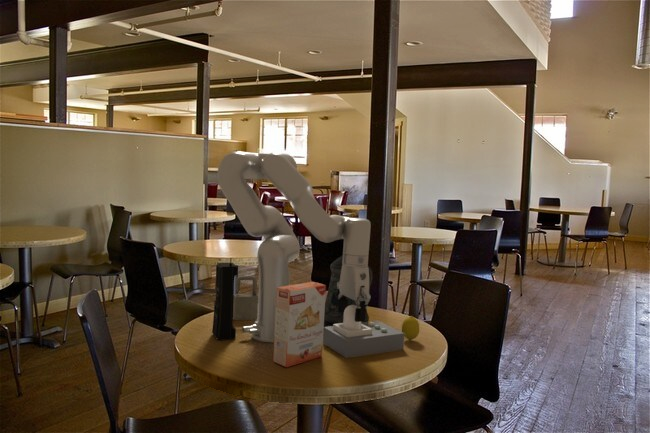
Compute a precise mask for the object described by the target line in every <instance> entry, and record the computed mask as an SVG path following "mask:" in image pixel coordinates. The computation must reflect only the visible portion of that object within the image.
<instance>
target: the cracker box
mask: <svg viewBox="0 0 650 433" xmlns="http://www.w3.org/2000/svg"><path fill="white" fill-rule="evenodd" d="M326 294H327V285H326V284H323V283H319V282H315V281H308V282H302V283H295V284H290V285H289V286H283V287H277V294H276V314H275V334H274V343H273V357H272V358H273V359H272V360H273V361H272V363H276V364H278V365H279V366H282V367H285V368H290V367H292V366H295V365H299V364H301V363H305V362H308V361H311V360H315V359H317V358H320V357H322V356H323V346H324V343H323V329H324V312H325V302H326V297H327V295H326Z"/></svg>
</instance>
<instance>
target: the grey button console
mask: <svg viewBox="0 0 650 433" xmlns="http://www.w3.org/2000/svg"><path fill="white" fill-rule="evenodd" d="M323 345H325V346H327V347H328V348H329V349H331V350H333V351H334V352H336V353H338V355H339V354H340V356H342V357H343V358H346V359H349V358H355V357H356V358H357V357H362V356H369V355H377V354H382V353H388V352H395V351H396V352H397V351H402V350H404V346H405V337H404V333H403V332H402V330H401V331H400V330H399V329H397V328H394V327H392V326H390V325H388V324H386V323H384V322H382V321H380V320H372V321H370V320H369V321H368V322H362V323H361V329H360V330H352V331H348V330H346V329H345V328H343V323H338V324H333V326H328V327H324V329H323Z"/></svg>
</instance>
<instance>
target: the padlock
mask: <svg viewBox="0 0 650 433" xmlns="http://www.w3.org/2000/svg"><path fill="white" fill-rule="evenodd" d="M241 281H252V293H239V292H240V289H241V288H240V287H241ZM257 288H258V278H257V277H256V276H254V275H241V276H238V277H236V280H235V290H236V294H234V304H233V321H249V320H250V321H251V320H255V319H257V320H258V298H259V294H257V293H258V291H257V290H258V289H257Z"/></svg>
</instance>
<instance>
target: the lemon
mask: <svg viewBox="0 0 650 433" xmlns="http://www.w3.org/2000/svg"><path fill="white" fill-rule="evenodd" d="M401 332H403V333H404V339H405V338H406V339H407V340H408V341H409V342H410V341H412V340H414V339H416V338H417V337H418V336H419V334H420V322H419V320H418V319H417V318H416V317H414V316H412V315H410V316H408V317H405V319H403V322H402V324H401Z"/></svg>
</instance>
